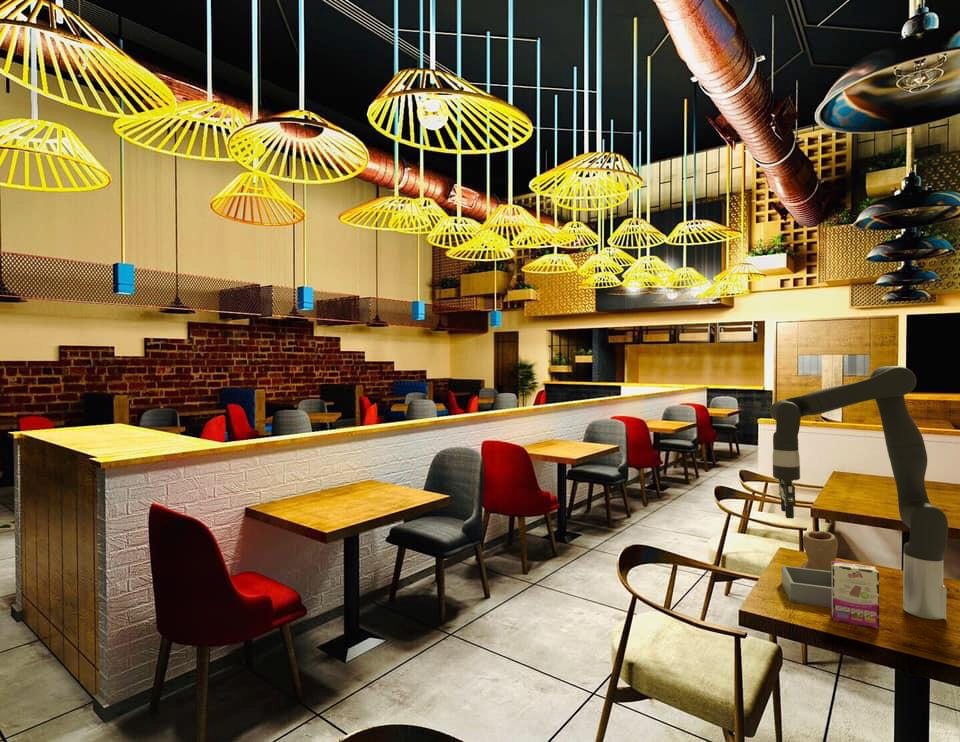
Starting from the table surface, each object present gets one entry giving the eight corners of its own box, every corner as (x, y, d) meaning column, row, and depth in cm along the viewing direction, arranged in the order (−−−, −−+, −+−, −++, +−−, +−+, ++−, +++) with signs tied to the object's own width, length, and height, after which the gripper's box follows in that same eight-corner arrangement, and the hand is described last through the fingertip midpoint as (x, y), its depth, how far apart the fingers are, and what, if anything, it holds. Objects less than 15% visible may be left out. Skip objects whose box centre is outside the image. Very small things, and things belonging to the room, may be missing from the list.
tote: (836, 589, 177) (836, 571, 177) (850, 610, 162) (850, 590, 162) (781, 582, 183) (781, 565, 183) (790, 602, 168) (790, 583, 168)
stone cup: (799, 575, 190) (799, 533, 190) (802, 565, 199) (802, 525, 199) (850, 585, 181) (851, 541, 181) (851, 574, 191) (851, 532, 190)
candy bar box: (876, 622, 155) (876, 566, 154) (879, 629, 150) (880, 572, 150) (830, 614, 160) (830, 559, 160) (832, 621, 155) (832, 565, 155)
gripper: (804, 468, 161) (805, 521, 161) (795, 460, 175) (796, 509, 175) (776, 467, 164) (777, 519, 164) (769, 459, 177) (770, 508, 177)
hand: (787, 514), depth 169 cm, fingers open, 8 cm apart
